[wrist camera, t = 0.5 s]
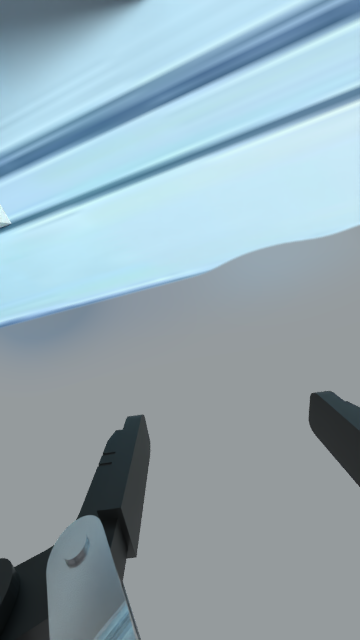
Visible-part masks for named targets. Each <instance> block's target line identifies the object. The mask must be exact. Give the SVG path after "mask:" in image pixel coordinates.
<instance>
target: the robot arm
mask: <svg viewBox="0 0 360 640" xmlns="http://www.w3.org/2000/svg"><path fill="white" fill-rule="evenodd" d="M309 423H310V427H311V429H312V431H313V432H314V434H315V435H316V436H317V437H318V439H319V440H320V441H321V442H322V443H323V444H324V445H325V447H326V448H327V449H328V450H329V451H330V453H331V454H332V455H333V456H334V457H335V459H336V460H337V461H338V462H339V463H340V464H341V466H342V467H343V468H344V469H345V470H346V471H347V472H348V474H349V475H350V476H351V477H352V478H353V480H354V481H355V482H356V483H357V484H358V485H359V487H360V407H358V406H356V405H353V404H352V403H350V402H348V401H344V400H342V399H341V398H340V397H338V396H337V395H336V394H335V393H333V392H331V391H324V392H317V393H312V394H311V396H310V407H309ZM149 458H150V439H149V434H148V430H147V425H146V421H145V417H144V415H137V416H129V417H127V419H126V422H125V424H124V428H123V430H116V431H115V433H114V434H113V435H112V436H111V438H110V439H109V440H108V442H107V444H106V447H105V449H104V452H103V456H102V457H101V460H100V462H99V467H97V470H96V473H95V475H94V477H93V480H92V483H91V485H90V488H89V491H88V493H87V495H86V498H85V501H84V503H83V506H82V508H81V511H80V513H79V515H78V518H77V519H76V521H74V522H73V523H72V524H71V525H70V526H68V527H67V528H66V530H65V531H64V532H63V533H62V534H61V535H60V537H59V538H58V540H57V541H56V543H55V545H53V546H52V547H51V548H49V549H48V550H46V551H44V552H42V553H40V554H38V555H36V556H34V557H33V558H31V559H29V560H27V561H25V562H23V563H21V564H20V565H18V566H16V567H13V565H12V564H11V562H10V561H9V560H8V559H5V558H1V559H0V640H141V638H140V635H139V632H138V629H137V625H136V622H135V619H134V616H133V613H132V609H131V606H130V603H129V600H128V597H127V594H126V590H125V587H124V584H123V576H124V570H125V563H126V558H134V557H136V555H137V548H138V541H139V533H140V526H141V518H142V511H143V503H144V495H145V488H146V480H147V473H148V466H149Z"/></svg>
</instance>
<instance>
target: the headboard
mask: <svg viewBox="0 0 360 640" xmlns="http://www.w3.org/2000/svg"><path fill="white" fill-rule="evenodd" d="M9 224H11V222H10V220H9V218H8V217H7V215H6V213H5V212H4V210H3V208H2V207H1V205H0V228H1V227H4V226H7V225H9Z"/></svg>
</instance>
